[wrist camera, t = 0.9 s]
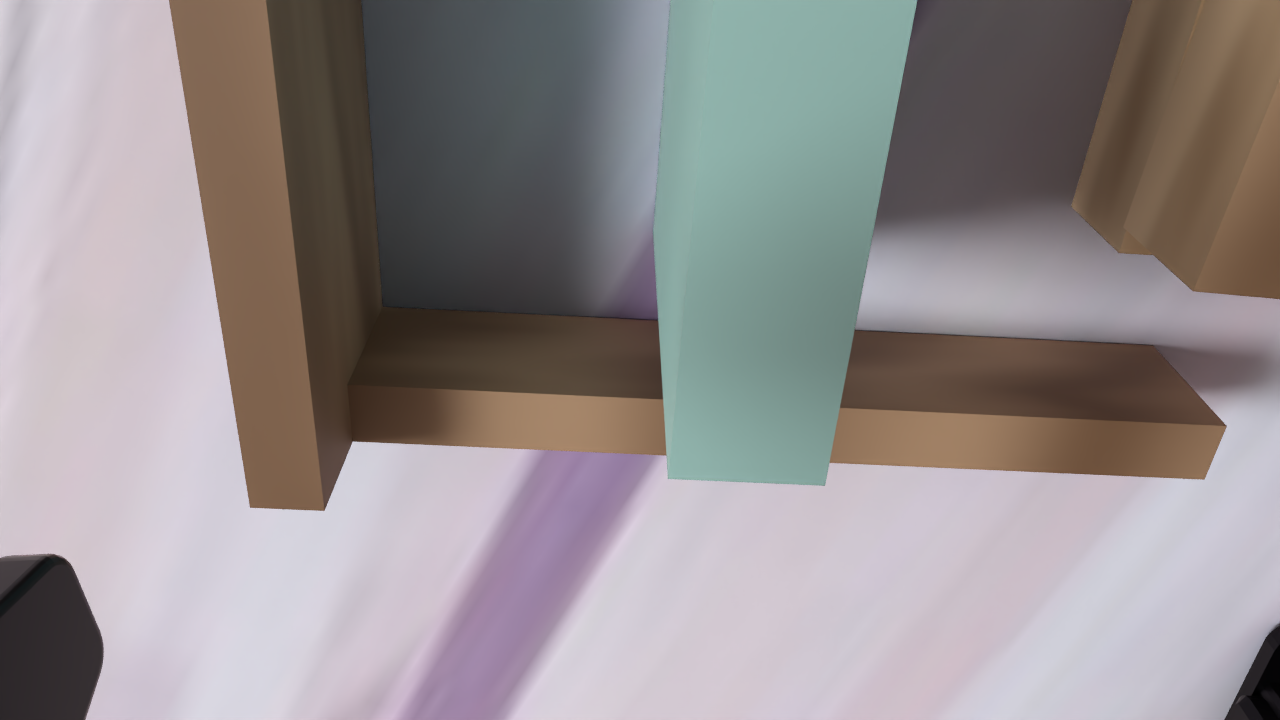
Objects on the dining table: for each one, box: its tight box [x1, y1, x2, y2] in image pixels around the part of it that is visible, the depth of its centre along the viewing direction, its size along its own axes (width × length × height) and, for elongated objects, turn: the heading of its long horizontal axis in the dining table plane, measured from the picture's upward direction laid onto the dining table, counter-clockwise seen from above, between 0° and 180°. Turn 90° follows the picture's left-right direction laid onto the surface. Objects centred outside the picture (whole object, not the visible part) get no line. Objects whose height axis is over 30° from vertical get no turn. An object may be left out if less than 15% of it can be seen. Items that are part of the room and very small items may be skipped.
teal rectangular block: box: [653, 0, 917, 486], centre depth 14 cm, size 2×9×8 cm, turn 176°
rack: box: [169, 0, 1227, 511], centre depth 15 cm, size 17×15×5 cm
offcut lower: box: [1071, 0, 1205, 255], centre depth 17 cm, size 4×7×2 cm, turn 176°
